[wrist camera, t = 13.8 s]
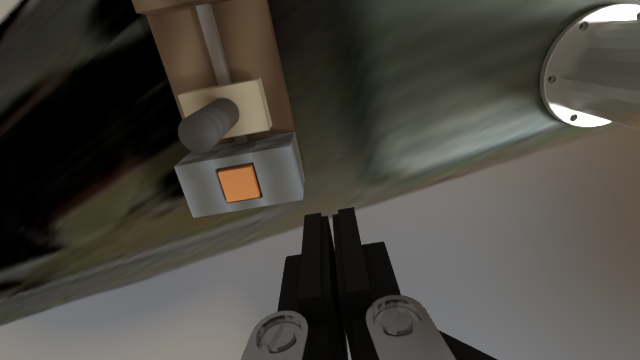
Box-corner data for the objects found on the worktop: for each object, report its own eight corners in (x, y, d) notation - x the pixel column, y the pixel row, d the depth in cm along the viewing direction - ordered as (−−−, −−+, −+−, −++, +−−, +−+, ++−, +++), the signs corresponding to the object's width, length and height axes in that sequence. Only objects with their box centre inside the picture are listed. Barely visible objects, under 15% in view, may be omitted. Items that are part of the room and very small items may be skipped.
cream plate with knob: (260, 77, 34) (238, 92, 25) (272, 124, 36) (255, 155, 27) (186, 91, 35) (136, 112, 25) (201, 137, 37) (160, 172, 27)
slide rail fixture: (259, -34, 33) (245, -51, 27) (305, 174, 42) (302, 199, 35) (144, -9, 34) (103, -19, 27) (212, 190, 43) (193, 217, 36)
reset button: (255, 156, 36) (250, 166, 33) (263, 185, 37) (259, 197, 35) (225, 162, 36) (217, 172, 34) (234, 190, 38) (227, 202, 35)
